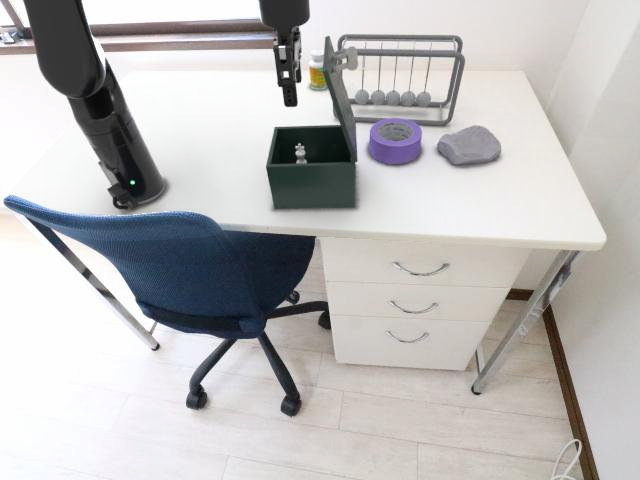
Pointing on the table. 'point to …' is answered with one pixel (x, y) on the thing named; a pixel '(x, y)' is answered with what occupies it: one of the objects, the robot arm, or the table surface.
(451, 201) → the table surface
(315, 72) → the supplement bottle
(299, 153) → the chess piece
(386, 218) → the table surface
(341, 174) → the waste bin
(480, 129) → the stone block
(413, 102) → the newton's cradle
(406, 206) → the table surface
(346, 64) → the bin lid
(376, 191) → the table surface
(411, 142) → the tape roll
